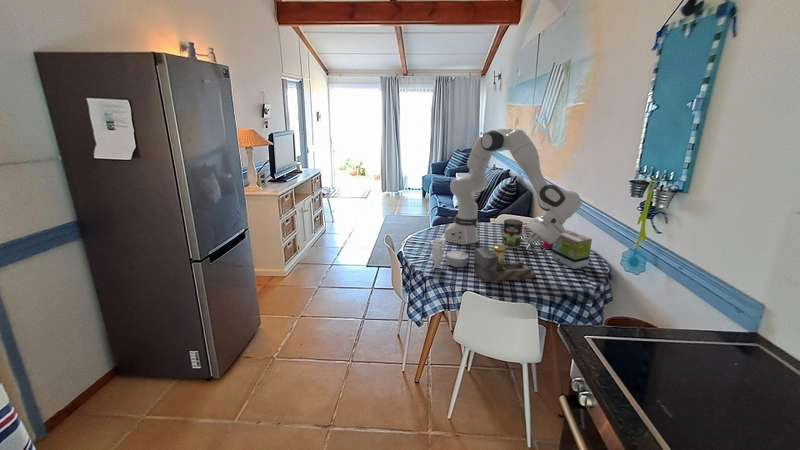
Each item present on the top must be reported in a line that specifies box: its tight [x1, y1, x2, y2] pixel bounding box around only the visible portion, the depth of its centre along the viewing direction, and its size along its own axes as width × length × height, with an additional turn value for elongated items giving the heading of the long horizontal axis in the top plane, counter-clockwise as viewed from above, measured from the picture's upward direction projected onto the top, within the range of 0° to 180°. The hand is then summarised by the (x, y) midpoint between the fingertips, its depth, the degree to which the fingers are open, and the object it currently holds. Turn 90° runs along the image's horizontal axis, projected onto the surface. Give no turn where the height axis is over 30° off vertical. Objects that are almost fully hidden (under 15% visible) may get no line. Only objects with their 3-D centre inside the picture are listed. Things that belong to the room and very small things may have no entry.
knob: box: [492, 244, 507, 271], centre depth 173 cm, size 6×6×12 cm
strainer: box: [430, 238, 446, 268], centre depth 182 cm, size 7×7×15 cm
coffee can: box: [501, 218, 524, 249], centre depth 213 cm, size 10×10×14 cm
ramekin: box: [445, 250, 470, 268], centre depth 188 cm, size 11×11×5 cm
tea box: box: [551, 229, 593, 270], centre depth 188 cm, size 15×10×15 cm, turn 23°
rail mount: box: [473, 247, 537, 283], centre depth 174 cm, size 26×12×12 cm, turn 99°
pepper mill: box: [542, 240, 553, 250], centre depth 208 cm, size 7×7×20 cm
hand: (529, 242), depth 173 cm, fingers closed
